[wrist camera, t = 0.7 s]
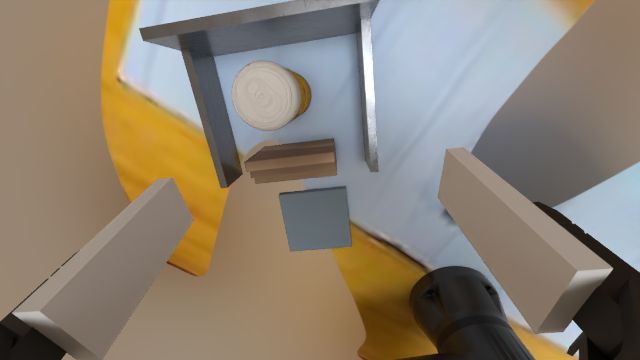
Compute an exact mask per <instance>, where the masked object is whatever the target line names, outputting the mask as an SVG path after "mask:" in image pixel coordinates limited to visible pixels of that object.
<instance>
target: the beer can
mask: <svg viewBox="0 0 640 360" xmlns="http://www.w3.org/2000/svg"><path fill="white" fill-rule="evenodd" d="M232 100H233V104H234V107H235V109H236V111H237V113H238V114H239V115H240V117H241V118H242V119H243V120H244V121H245V122H246V123H247V124H249V125H250V126H252V127H254V128H256V129H259V130H264V131H272V130H277V129H279V128H281V127H283V126H285V125H286V124H288V123H289V122H291V121H292V120H294V119H295V118H297V117H298V116H299V115H301V114H302V113H304V112H305V111H306V110H307V108H308V106H309V104H310V101H311V90H310V87H309V85H308V83H307V81H306V80H305V79H304V78H303V77H302V76H301V75H299V74H297V73H295V72H293V71H291V70H289V69H286V68H284V67H282V66H280V65H278V64H276V63H274V62H270V61H255V62H252V63H250V64H248V65H246V66H245V67H244V68H242V69H241V70H240V72H239V73H238V75H237V76H236V78H235V81H234V83H233V87H232Z"/></svg>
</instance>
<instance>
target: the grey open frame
mask: <svg viewBox="0 0 640 360" xmlns="http://www.w3.org/2000/svg"><path fill="white" fill-rule="evenodd" d="M378 2H379V0H294V1H289V2H283V3H278V4H272V5H267V6H261V7H256V8H250V9H245V10H239V11H234V12H228V13H223V14H217V15H212V16H206V17H200V18H195V19H189V20H184V21H178V22H173V23H167V24H162V25H156V26H151V27H145V28H140V29H139V30H140V33H141V36H142V39H143V41H146V42H150V43H154V44H157V45H161V46H165V47H169V48H172V49H176V50H180V51H181V52H182V56H183V59H184V63H185V66H186V69H187V73H188V76H189V80H190V83H191V87H192V90H193V94H194V97H195V101H196V104H197V107H198V111H199V114H200V118H201V121H202V125H203V128H204V132H205V135H206V138H207V142H208V145H209V149H210V152H211V156H212V159H213V163H214V166H215V170H216V173H217V176H218V180H219V183H220V187H221V188H228V187H229V186H230V185H231V184H232V183H233V182H234V181H235V180H236V179H238V178H239V177H240V176H241V175H242V174H243V173H242V169H241V165H240V161H239V157H238V153H237V149H236V145H235V141H234V137H233V133H232V129H231V125H230V121H229V117H228V113H227V109H226V105H225V101H224V97H223V93H222V89H221V85H220V81H219V77H218V74H217V70H216V66H215V62H214V58H213V56H219V55H225V54H231V53H237V52H243V51H250V50H256V49H262V48H268V47H274V46H280V45H286V44H293V43H299V42H305V41H311V40H317V39H323V38H329V37H335V36H342V35H348V34H354V33H356V35H357V49H358V63H359V77H360V91H361V105H362V119H363V133H364V147H365V160H366V163H367V165H368V167H369V169H370V172H378V154H377V135H376V117H375V98H374V80H373V61H372V42H371V24H370V19H371V16H372V14H373V12H374V10H375V8H376V6H377V4H378Z"/></svg>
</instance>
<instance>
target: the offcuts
mask: <svg viewBox="0 0 640 360" xmlns="http://www.w3.org/2000/svg"><path fill="white" fill-rule="evenodd" d="M244 163H245V167H246V171H247V172H248V171H250V174H251V178H255V183H256V184H259V183H269V182H278V181H287V180H297V179H306V178H316V177H325V176H335V175H337V161H336V152H335V143H334V138H333V139H325V140H316V141H308V142H300V143H292V144H283V145H275V146H266V147H263V148H262V149H261V150H260V151H259V152H257V153H256V154H255V155H253V156H252V157H251V158H249V159H248V160H247V161H246V162H244Z"/></svg>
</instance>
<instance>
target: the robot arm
mask: <svg viewBox="0 0 640 360" xmlns="http://www.w3.org/2000/svg"><path fill="white" fill-rule="evenodd" d="M438 199H439V200H440V201H441V203H442V204H443V206H444V207H445V208H446V210H447V211H448V213H449V214H450V215H451V217H452V218H453V220H454V221H455V222H456V224H457V225H458V227H459V228H460V229H461V231H462V232H463V233H464V235H465V236H466V238H467V239H468V240H469V242H470V243H471V245H472V246H473V247H474V249H475V250H476V252H477V253H478V254H479V256H480V257H481V259H482V260H483V261H484V263H485V264H486V266H487V267H488V268H489V270H490V271H491V273H492V274H493V275H494V277H495V278H496V280H497V281H498V282H499V284H500V285H501V287H502V288H503V289H504V291H505V292H506V294H507V295H508V296H509V298H510V299H511V301H512V302H513V303H514V305H515V306H516V308H517V309H518V310H519V312H520V313H521V315H522V316H523V317H524V319H525V320H526V322H527V323H528V324H529V326H530V327H531V329H532V330H533V331H534V333H535V334H537V333H553V332H563V331H564V330H565V329H566V328H567V326H568V325H569V324H570V323H571V321H572V320H573V321H574V322H575V323H576V324H577V325H578V326H579V327H580V329H581V330H582V331H583V332H582V333H581V334H580V335H579V337H578V338H577V339H576V340H575V341H574V342H573V343H572V345H571V346H570V347H569V349H568V352H567V354H569V355H571V356H573V355H574V354H575V353H576V352H577V350H578V349H579V360H640V272H638V271H637V270H635V269H634V268H633V267H631V266H630V265H629V264H627V263H626V262H625V261H623V260H622V259H621V258H620V257H618V256H617V255H616V254H614V253H613V252H612V251H610V250H609V249H608V248H606V247H605V246H604V245H602V244H601V243H600V242H598V241H597V240H596V239H594V238H593V237H592V236H590V235H589V234H588V233H586V234H585V233H584V230H582V229H581V228H580V227H578V226H577V225H576V224H572V221H570V220H569V219H568V218H566V217H565V216H564V215H562V214H561V213H560V212H558V211H557V210H555V209H553V208H551V207H548V206H546V205H544V204H542V203H540V202H530V201H529V200H528V199H527V198H526V197H524V196H523V195H522V194H521V193H519V192H518V191H517V190H516V189H514V188H513V187H512V186H511V185H509V184H508V183H507V182H506V181H504V180H503V179H502V178H501V177H499V176H498V175H497V174H496V173H494V172H493V171H492V170H491V169H490V168H488V167H487V166H486V165H484V164H483V163H482V162H481V161H480V160H478V159H477V158H476V157H475V156H473V155H472V154H471V153H470V152H468V151H467V150H466V149H465V148H453V149H446V154H445V159H444V165H443V171H442V177H441V182H440V188H439V194H438ZM193 221H194V219H193V217H192V215H191V213H190V211H189V209H188V207H187V205H186V203H185V201H184V199H183V198H182V196H181V194H180V192H179V190H178V188H177V186H176V184H175V182H174V180H173V178H162V179H157V180H156V181H155V182H154V183H153V184H151V185H150V186H149V187H148V188H147V189H146V190H145V191H144V192H143V193H142V194H141V195H139V196H138V197H137V198H136V199H135V200H134V201H133V202H132V203H131V204H130V205H129V206H128V207H126V208H125V209H124V210H123V211H122V212H121V213H120V214H119V215H118V216H117V217H116V218H114V219H113V220H112V221H111V222H110V223H109V224H108V225H107V226H106V227H105V228H104V229H103V230H102V231H100V232H99V233H98V234H97V235H96V236H95V237H94V238H93V239H92V240H91V241H90V242H88V243H87V244H86V245H85V246H84V247H83V248H82V249H81V250H79V251H78V252H77V253H75V254H74V255H73V256H72V257H71V258H69V259H68V260H67V261H66V262H65V263H64V264H63V265H62V267H61V268H59V269H57V270H56V271H55V272H54V273H53V274H52V275H51V277H50V278H49V279H47V280H45V281H44V282H43V283H42V284H41V285H40V286H39V287H38V288H37V289H36V290H34V291H33V293H31V294H30V295H29V296H28V297H27V298H26V299H25V300H24V301H22V302H21V303H20V304H19V305H18V306H17V307H16V308H15V309H14V310H13V311H12V312H10V313H9V314H8V315H7V316H6V317H5V318H4V319H3V320H2V321H0V360H61V359H62V358H63V356H64V355H65V354H66V353H68V354H69V355H71V356H72V357H73V358H75V359H76V360H102V359H103V358H104V356H105V355H106V353H107V352H108V350H109V349H110V347H111V345H112V344H113V343H114V341H115V340H116V338H117V337H118V335H119V334H120V332H121V330H122V329H123V327H124V326H125V324H126V323H127V321H128V320H129V318H130V317H131V315H132V314H133V312H134V311H135V309H136V308H137V306H138V305H139V303H140V302H141V300H142V299H143V297H144V295H145V294H146V292H147V291H148V289H149V288H150V286H151V285H152V283H153V282H154V280H155V279H156V277H157V276H158V274H159V273H160V271H161V269H162V268H163V266H164V265H165V264H166V262H167V260H168V259H169V257H170V256H171V254H172V253H173V251H174V250H175V248H176V247H177V245H178V244H179V242H180V241H181V239H182V238H183V236H184V235H185V233H186V232H187V230H188V229H189V227H190V225H191V224H192V222H193ZM410 307H411V310H412V313H413V316H414V318H415V320H416V322H417V324H418V325H419V326H420V328H421V329H422V330H423V332H424V333H425V334H426V335H427V337H428V338H429V339H430V340H431V342H432V343H433V344H434V346H435V347H436V348H437V351H438V354H432V355H423V356H417V357H410V358H403V359H397V360H535V358H534V357H533V356H532V354H531V353H530V352H529V350H528V349H527V348H526V346H525V345H524V344H523V343H522V341H521V340H520V339H519V337H518V336H517V335H516V333H515V332H514V331H513V329H512V328H511V327H510V325H509V324H508V321H507V318H506V315H505V312H504V309H503V307H502V304H501V301H500V298H499V295H498V293H497V291H496V289H495V288H494V287H493V285H492V284H491V283H490V282H489V280H488V279H487V278H486V277H485V276H484V275H482V274H481V273H479V272H478V271H475V270H473V269H470V268H465V267H447V268H442V269H439V270H436V271H433V272H431V273H429V274H428V275H426V276H425V277H423V278H422V279H421V280H420V281H419V282H418V283H417V284H416V285H415V287H414V288H413V290H412V292H411V295H410Z"/></svg>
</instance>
